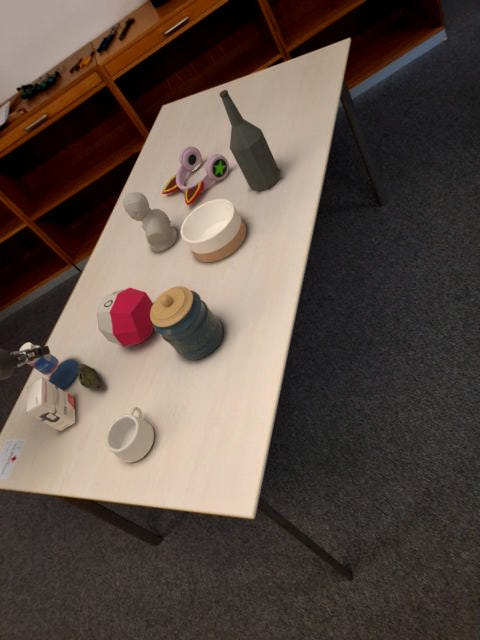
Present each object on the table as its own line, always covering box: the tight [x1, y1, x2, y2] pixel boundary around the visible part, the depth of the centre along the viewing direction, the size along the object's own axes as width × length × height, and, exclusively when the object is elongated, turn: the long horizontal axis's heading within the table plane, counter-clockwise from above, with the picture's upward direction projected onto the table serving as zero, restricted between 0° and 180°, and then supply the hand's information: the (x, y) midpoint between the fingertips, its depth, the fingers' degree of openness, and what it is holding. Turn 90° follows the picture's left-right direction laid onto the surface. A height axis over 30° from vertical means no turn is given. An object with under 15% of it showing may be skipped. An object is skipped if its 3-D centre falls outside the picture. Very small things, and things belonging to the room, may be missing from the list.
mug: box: [105, 406, 155, 463], centre depth 99 cm, size 12×10×6 cm
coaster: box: [48, 358, 80, 391], centre depth 125 cm, size 10×10×1 cm
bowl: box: [180, 198, 247, 263], centre depth 128 cm, size 17×17×8 cm
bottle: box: [219, 89, 280, 192], centre depth 128 cm, size 10×10×30 cm
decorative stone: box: [77, 363, 104, 390], centre depth 117 cm, size 11×8×5 cm
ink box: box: [25, 377, 76, 432], centre depth 112 cm, size 8×5×12 cm, turn 20°
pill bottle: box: [19, 341, 60, 376], centre depth 118 cm, size 6×5×10 cm
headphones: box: [161, 146, 230, 207], centre depth 152 cm, size 20×10×20 cm
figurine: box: [122, 191, 178, 253], centre depth 136 cm, size 9×13×20 cm
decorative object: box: [96, 287, 154, 347], centre depth 117 cm, size 15×15×15 cm
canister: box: [150, 285, 224, 361], centre depth 104 cm, size 13×13×18 cm
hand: (39, 352), depth 119 cm, fingers closed on pill bottle, 5 cm apart
